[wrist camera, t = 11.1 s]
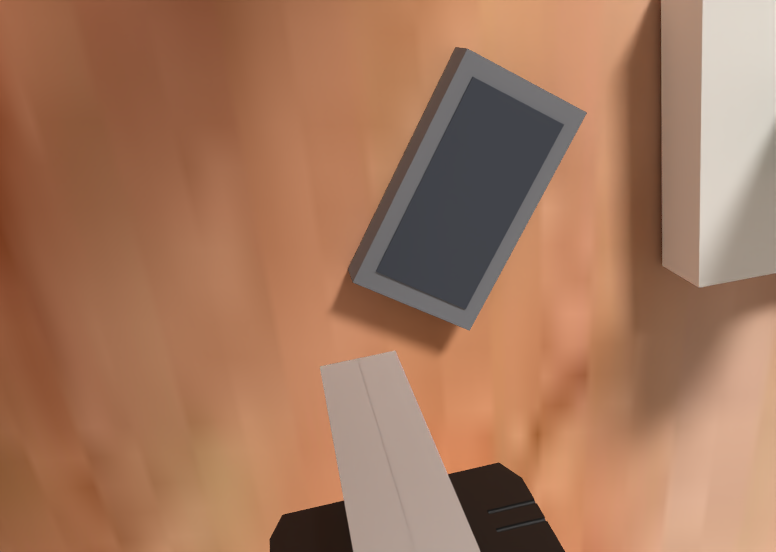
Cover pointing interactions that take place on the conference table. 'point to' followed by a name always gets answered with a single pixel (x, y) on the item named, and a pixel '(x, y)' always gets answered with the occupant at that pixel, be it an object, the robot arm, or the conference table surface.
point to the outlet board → (718, 139)
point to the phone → (464, 189)
